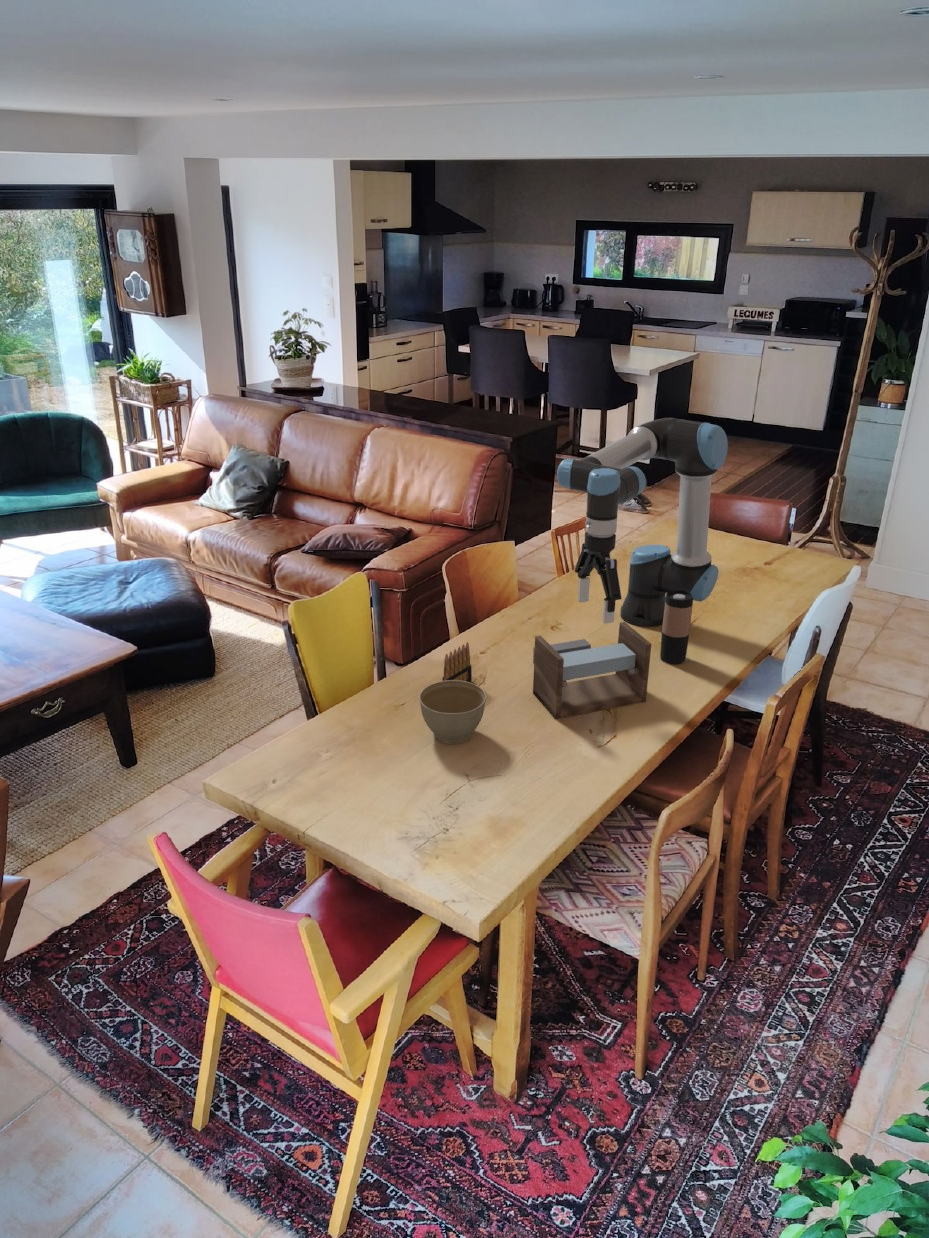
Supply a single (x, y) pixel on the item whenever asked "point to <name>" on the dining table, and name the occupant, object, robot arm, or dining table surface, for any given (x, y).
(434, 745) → the dining table surface
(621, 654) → the shelf board
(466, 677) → the ammunition clip
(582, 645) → the grey rectangular block
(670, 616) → the travel mug
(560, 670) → the shelf frame
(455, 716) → the planter bowl
